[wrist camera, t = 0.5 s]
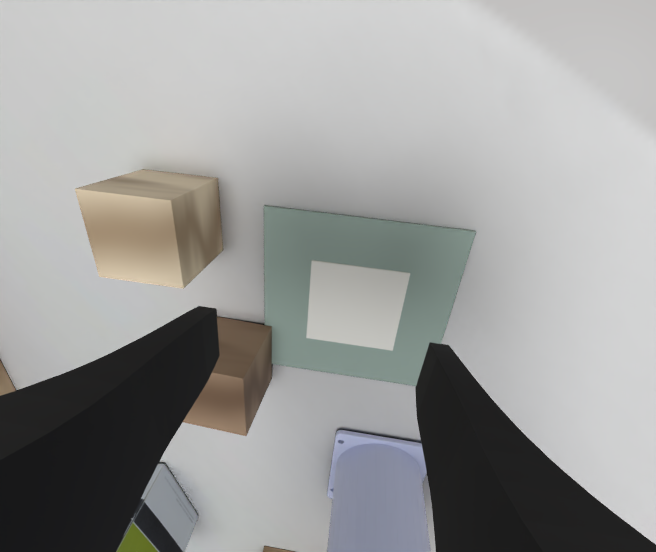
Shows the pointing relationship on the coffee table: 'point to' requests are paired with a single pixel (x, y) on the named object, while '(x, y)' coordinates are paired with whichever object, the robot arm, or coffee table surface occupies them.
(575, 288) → the coffee table surface
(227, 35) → the coffee table surface
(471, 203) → the coffee table surface
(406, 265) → the build mat
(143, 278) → the maple block
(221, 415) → the walnut block
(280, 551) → the camera crate
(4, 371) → the box
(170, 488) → the tea box
